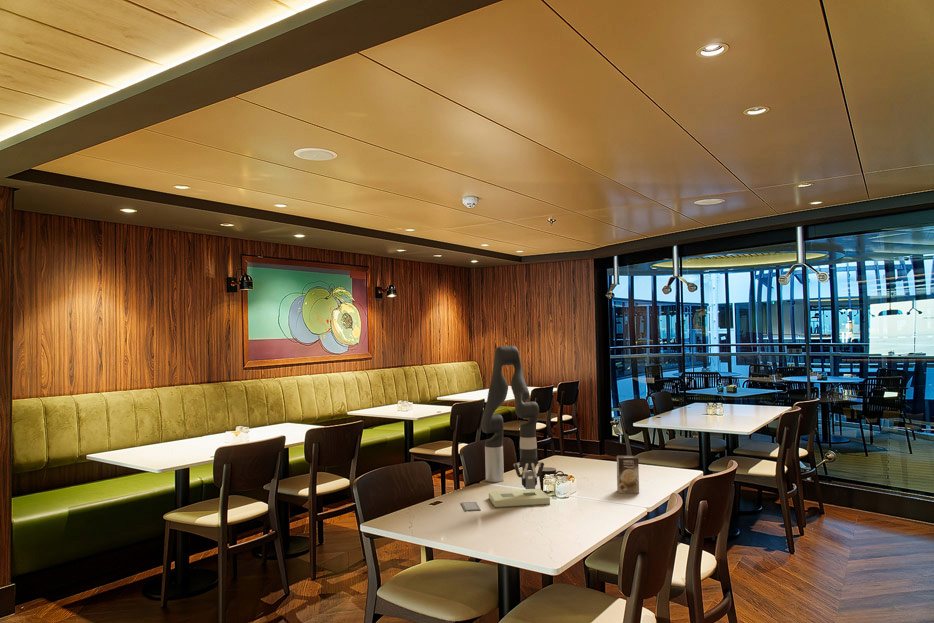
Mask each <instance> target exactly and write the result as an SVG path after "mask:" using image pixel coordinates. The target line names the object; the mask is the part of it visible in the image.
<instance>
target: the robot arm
mask: <svg viewBox="0 0 934 623" xmlns="http://www.w3.org/2000/svg"><path fill="white" fill-rule="evenodd" d="M503 366H513V368H514V372H513V375H512V377H511V381H510V388H511V391H512V394H513V396H514V403H515V404H514V405H515V406H514V408H515V411H514V412H515V415H516V416H517V418H520V419H528V420H526V422H522V423H521V424H520V426H519V461H518V462H516V463H513V468H514V470H515V472H516V476H517V477H518V478H521V485H522V486H523V488H524V487H526V482H525V473H526V472H527V471H532V472H533V473H535V487H536V486H537V485H538V478H539V476H541V474H542V470H543V467H545V463H544V462H543V461H539V460H538V444H537V431H536V430H537V424H538V419H539V414H540V406H539V404H538V403H537V402H536V401H528V400H529V398H530V396H531V395H530V390H529V387H528V386H527V383H526V382H527V381H526V380H525V375H524V371H523V366H522V359H521V355H520V351H519V349H518V348H517V346H515V345H502V346H501V345H500V346H498V347H496V349H495V352H494V356H493V367H492V374H491V379H490V383H489V388H488V393H487V398H486V403H485V408H484V411H483V414H482V418H481V422H480V427H481V431H482V432H483V433H485V434H493V435H492V437H490V438H487V439H486V440H485V442H484V455H485V456H484V458H485V459H484V460H485V461H484V462H485V463H484V464H485V466H484V467H485V481H486V482H490V483H500V482H503V481H504V480H505V476H504V472H505V471H504V467H505V466H504V425H505V424H504V418H503V416H502V414H499V413H498V414H495V411H496V410H498V409H499V407H500V406H501V405H502V404H503V403H504V402H505V401H506V399H507V396H508V391H509V384H508V381H507V380H506V378H505V376H504V374H503V370H502V369H503ZM520 466H521V468H522V469H521V472H520V469H519V468H520ZM537 466H538V468H539V469H538V468H537ZM536 468H537V470H536Z"/></svg>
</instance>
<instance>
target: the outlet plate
mask: <svg viewBox="0 0 934 623" xmlns="http://www.w3.org/2000/svg"><path fill="white" fill-rule="evenodd" d="M488 500H489V501H490V502H491V504H492V506H493V507H494V508H495V509H500V508H503V509H504V508H519V507H521V508H522V507H535V506H549V505H551V498H550V496H549V495H547V493H546V492H543V491H542V490H541V488H535V489H517V490H498V491H488Z"/></svg>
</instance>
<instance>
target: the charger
mask: <svg viewBox="0 0 934 623" xmlns="http://www.w3.org/2000/svg"><path fill="white" fill-rule="evenodd" d="M525 482H526V487H524V486H523V488H524V490H531V489H536V486H535V473H533V472H532V471H531V470H528V471H527V472H526V473H525Z"/></svg>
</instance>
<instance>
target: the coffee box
mask: <svg viewBox="0 0 934 623" xmlns="http://www.w3.org/2000/svg"><path fill="white" fill-rule="evenodd" d="M639 469H640V468H639V457H638V456H636V455H616V480H617V481H616V484H617V486H616V487H617V488H616V489H617V492H618V493H619V494H640V475H639V474H640V473H639Z"/></svg>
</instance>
